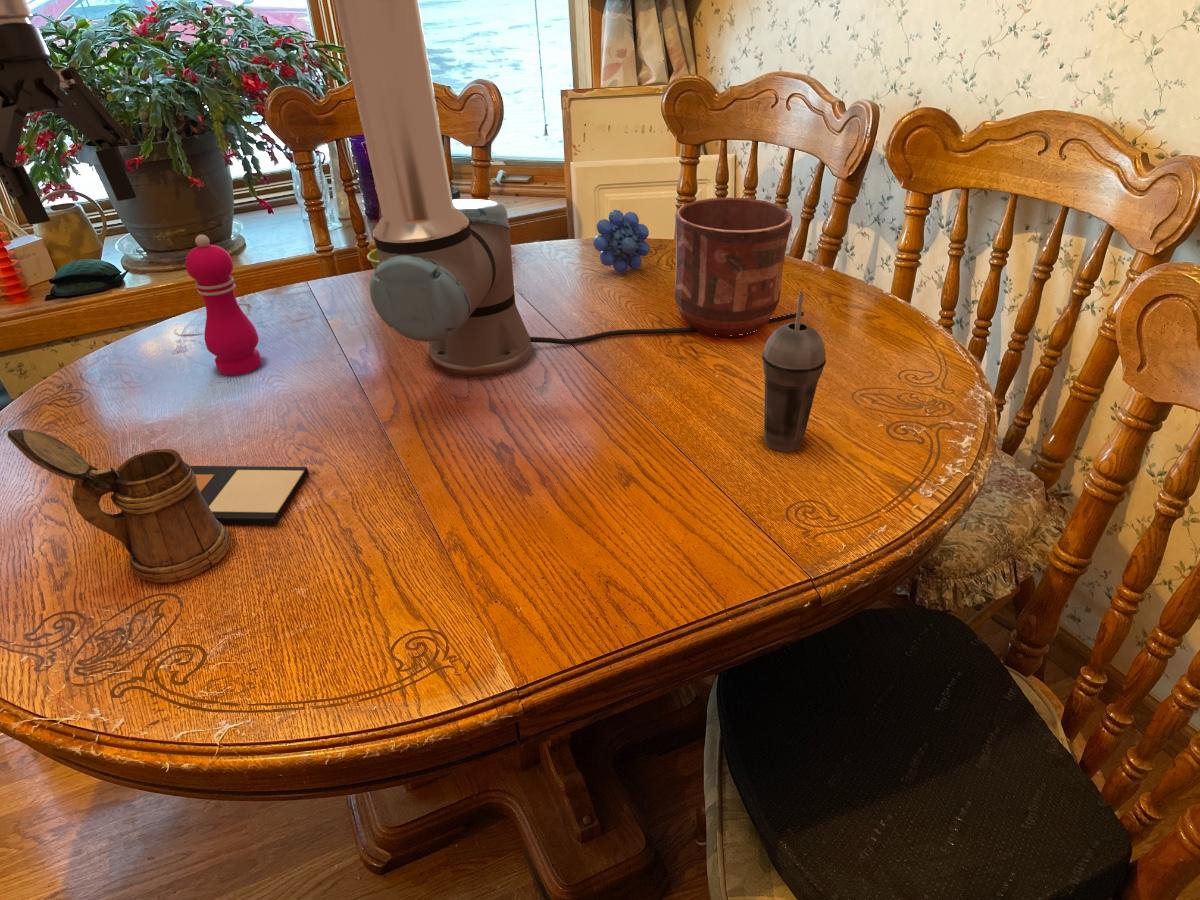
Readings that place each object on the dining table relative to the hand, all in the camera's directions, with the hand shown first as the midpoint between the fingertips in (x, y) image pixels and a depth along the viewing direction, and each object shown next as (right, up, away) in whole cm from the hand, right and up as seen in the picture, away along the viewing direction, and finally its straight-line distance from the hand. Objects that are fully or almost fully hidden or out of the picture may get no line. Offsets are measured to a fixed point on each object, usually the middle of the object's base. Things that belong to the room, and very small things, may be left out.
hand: (86, 210), depth 101 cm
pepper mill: (+12, -19, +17) cm, 28 cm away
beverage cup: (+89, -30, -4) cm, 94 cm away
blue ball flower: (+71, +2, +46) cm, 85 cm away
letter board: (+24, -36, -12) cm, 45 cm away
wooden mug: (+21, -43, -21) cm, 52 cm away
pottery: (+87, -11, +26) cm, 91 cm away
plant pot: (+32, -5, +37) cm, 49 cm away
